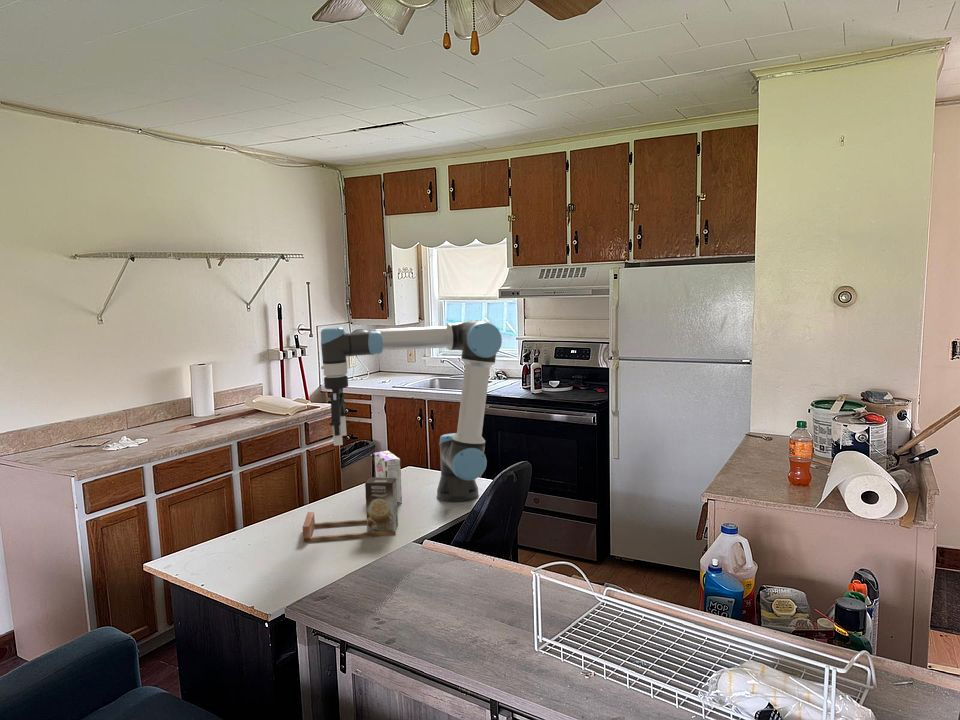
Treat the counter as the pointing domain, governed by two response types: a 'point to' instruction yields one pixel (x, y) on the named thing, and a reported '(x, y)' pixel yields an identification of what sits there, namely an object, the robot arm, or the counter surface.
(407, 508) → the counter surface
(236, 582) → the counter surface
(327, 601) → the counter surface
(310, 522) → the channel
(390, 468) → the candy box
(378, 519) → the coffee box
